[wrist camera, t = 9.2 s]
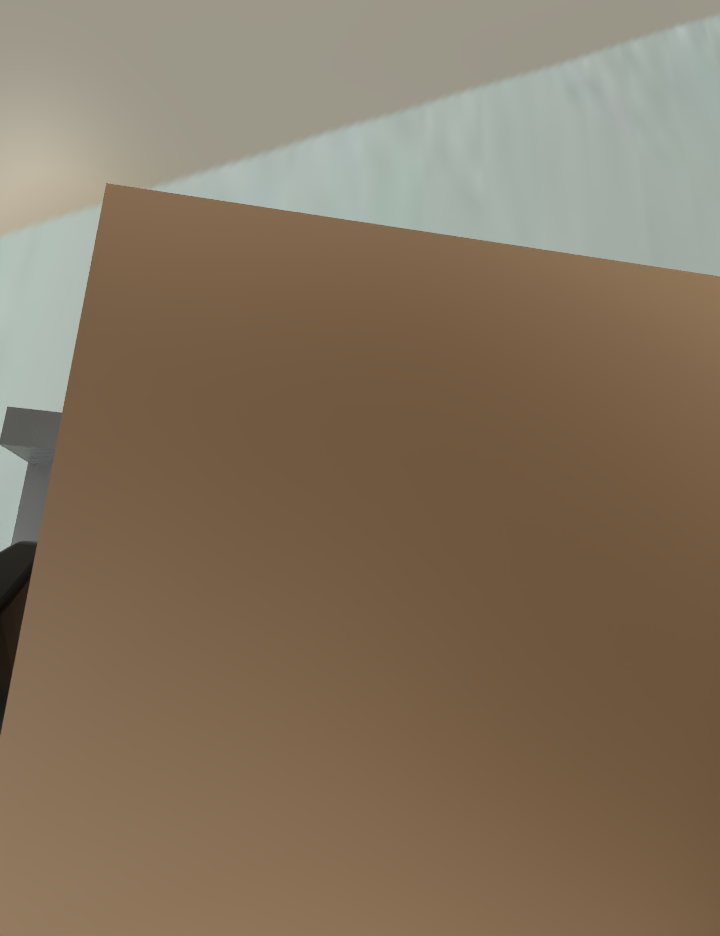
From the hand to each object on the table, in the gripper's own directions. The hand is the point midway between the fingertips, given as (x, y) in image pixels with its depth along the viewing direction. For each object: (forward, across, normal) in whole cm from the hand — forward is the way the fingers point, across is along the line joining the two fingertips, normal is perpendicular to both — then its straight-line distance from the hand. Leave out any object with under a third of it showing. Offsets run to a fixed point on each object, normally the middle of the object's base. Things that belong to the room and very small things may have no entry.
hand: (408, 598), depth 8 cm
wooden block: (+7, 0, +7) cm, 10 cm away
